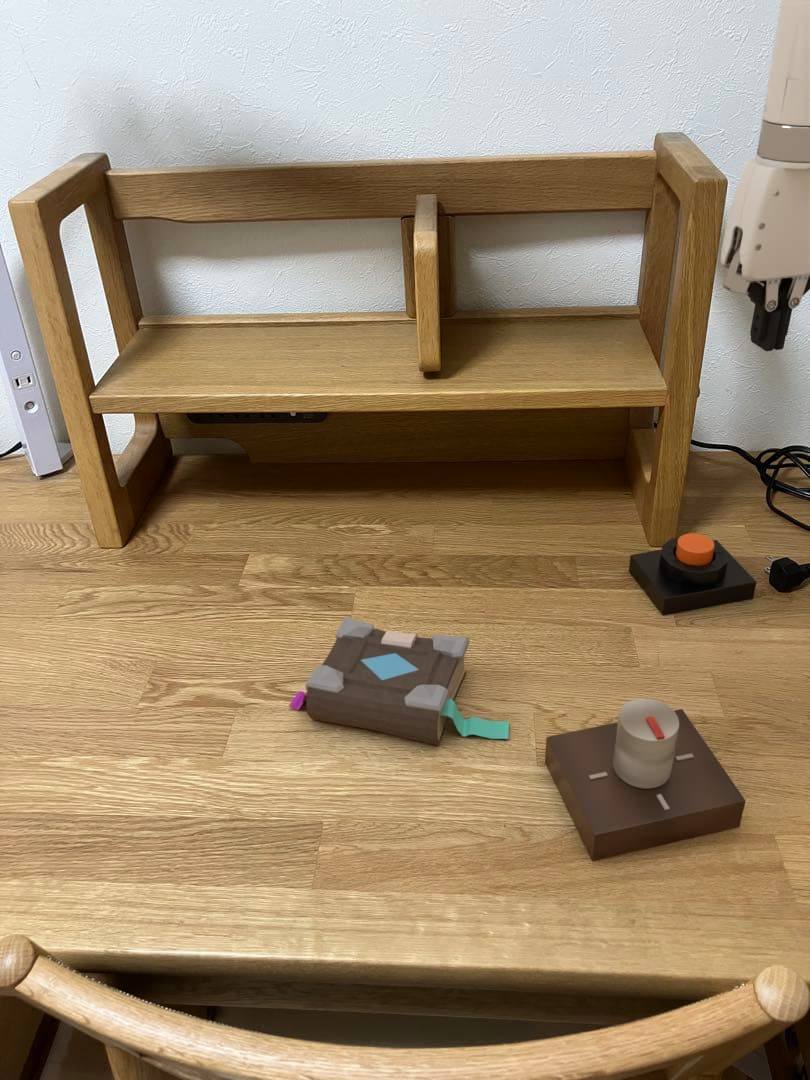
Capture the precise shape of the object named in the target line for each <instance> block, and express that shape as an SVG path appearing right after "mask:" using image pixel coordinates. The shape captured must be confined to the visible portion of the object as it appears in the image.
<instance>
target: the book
mask: <svg viewBox="0 0 810 1080" xmlns="http://www.w3.org/2000/svg"><path fill="white" fill-rule="evenodd" d="M334 635H335V642H334V643H333V646H332V648H331V650H330V651H329V653H328V654H327V656H326V658H325V660H324V661H323V662H322V664H321V665H316V666H315V668H314V670H313V672H312V673H311V674H310V676H309V678H308V680H307V682H306V684H305V690H306V692H304V691H302V690H299V691H298V692H297V694H296V695H295V696H294V697H293V699H292V700H291V702H290V703H289V705H288V706H289V707H291V708H293V709H294V710H296V711H299V710H300V709H301V707H302V705H303V704H304V703H305V704H306V705H305V706H306V712H307V715H308V718H309V719H311V720H315V721H321V722H326V723H331V724H338V725H343V726H348V727H354V728H360V729H365V730H371V731H376V732H380V733H384V734H388V735H393V736H397V737H401V738H405V739H409V740H414V741H417V742H421V743H424V744H425V743H426V744H430V745H434V746H436V747H437V746H438V747H439V746H440V745H441V744H440V743H441V741H442V738H443V735H444V732H445V728H446V725H447V723H448V720H449V718H451V719H452V721H453V724H454V726H455V727H456V730H457V731H458V732H459V734H460V735H461V737H467V736H470V735H471V736H472V735H475V736H479V737H482V738H486V739H490V740H491V739H492V740H494V739H495V740H496V739H497V740H498V739H501V740H502V739H503V740H504V739H505V740H509V732H510V721H508V720H507V721H505V720H504V721H503V720H501V721H500V720H498V721H496V720H494V721H493V720H488V719H485V718H480V717H476V716H475V717H474V716H473V717H470V718H467V719H466V718H464V717H463V715H462V714H461V713H460V711H459V709H458V707H457V704H456V702H455V699H456V698H457V696H458V694H459V691H460V689H461V686H462V684H463V682H464V680H465V677H466V675H467V669H465V655H466V653H467V651H468V648H469V645H470V638H469V637H466V636H456V635H448V634H447V635H446V634H436V635H434V636H433V637H431V638H430V637H422V636H421V637H419V634H418V633H408V632H398V631H394V630H388V629H387V630H382V629H378V628H376V627H375V625H374V624H373V623H369V622H365V621H361V620H358V619H354V618H351V617H348V616H347V617H346V616H345V617H344V618H343V620H342V622H341V623H340V625H339V627H338V628H337V630H336V632H335V634H334ZM305 701H306V702H305Z"/></svg>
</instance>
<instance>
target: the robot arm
mask: <svg viewBox="0 0 810 1080" xmlns="http://www.w3.org/2000/svg"><path fill="white" fill-rule="evenodd" d="M775 30H776V31H775V37H774V43H773V49H772V56H771V62H770V67H769V74H768V79H767V85H766V93H765V99H764V103H763V111H762V116H761V117H762V119H761V123H760V129H759V136H758V142H757V148H756V149H757V150H756V155H755V158H748V159H746V161H745V163H744V166H743V169H742V172H741V174H740V176H739V179H738V182H737V185H736V188H735V191H734V194H733V197H732V201H731V205H730V209H729V213H728V217H727V222H726V226H725V230H724V235H723V240H722V246H721V252H720V265H721V266H722V267H723V268H725V269H727V272H726V275H725V277H724V279H723V283H722V286H723V288H724V289H725V290H727V291H729V292H731V293H735V294H741V295H746V296H747V297H748V298H749V300H750V302H751V303H752V304H754V308H753V315H752V319H751V326H750V332H749V334H750V342H752V343H753V344H755V345H756V346H757V347H759V348H760V349H762V350H763V351H764V352H772V351H774V350H775V351H779V350H780V351H781V350H784V347H785V343H786V337H787V336H788V333H789V328H790V322H791V318H792V313H793V310H795V309H797V308H798V307H799V306H800V304H801V302H802V298H803V297H804V296H805V295H806V294H807V293H808V292H809V291H810V0H781V1H780V6H779V12H778V18H777V25H776V29H775Z"/></svg>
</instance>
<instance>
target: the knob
mask: <svg viewBox="0 0 810 1080" xmlns="http://www.w3.org/2000/svg"><path fill="white" fill-rule="evenodd" d="M674 711H675V710H674V709H673V708H672V707H670V706H669V705H668V704H666V703H664V702H662V701H660V700H656V699H653V698H635V699H632V700H630V701H627V702H625V704H624V705H622V706H621V708H620V709H619V712H618V718H617V722H618V725H617V734H616V742H615V750H614V758H613V767H614V770H615V772H616V774H617V775H618V776H619V777H620V778H621V779H622V780H623V781H624V782H626V783H627V784H629V785H632V786H634V787H638V788H644V789H650V788H656V787H659V786H661V785H663V784H664V783H665V782H666V781H667V780H668V779H669V777H670V775H671V770H672V764H673V758H674V753H675V747H676V741H677V736H678V730H679V719H678V716H677V714H676V713H675V712H674Z"/></svg>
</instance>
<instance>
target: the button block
mask: <svg viewBox="0 0 810 1080" xmlns="http://www.w3.org/2000/svg"><path fill="white" fill-rule="evenodd" d="M680 537H681V536H678V537H672V538H670V539H669V540H667V541H666V542H664V544H662V545H661V549H657V550H651V551H645V552H640V553H639V552H638V553H633V554H630V556H629V557H630V558H629V565H628V573H629V574H630V575H631V576H632V578H633V579H634V580H635V582H636V583H637V585H638V586H639V587H640V588H641V590H642V591H643V592H644V593H645V595H646V596H647V597H648V599H649V600H650V602H651V603H652V604H653V605H654V607H655V608H656V609H657V611H658V612H659V613H660V614H661V615H662V616H663V617H664V616H669V615H674V614H679V613H680V614H681V613H684V612H691V611H696V610H700V609H706V608H712V607H717V606H723V605H727V604H733V603H738V602H745V601H748V600H753V599H754V597H755V591H756V587H757V580H755V579H754V578H753V576H751V574H750V573H749V572H748V571H747V570H746V569H745V568H744V567H743V566H742V565H741V564H740V563H739V562H738V560H736V558H735V557H734V556H732V554H730V552H729V551H728V550H727V549H726V548H725V547H724V546H723V545H722V544H721V543H720V542H719V540H717V539H712V541H713V542H714V545H715V546H714V552H713V557H712V561H711V562H710V563H709V564H706V565H701V566H697V565H689V564H686V563H684V562H682V561H679V560H678V559H677V557H676V549H677V542H678V539H679V538H680Z"/></svg>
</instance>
